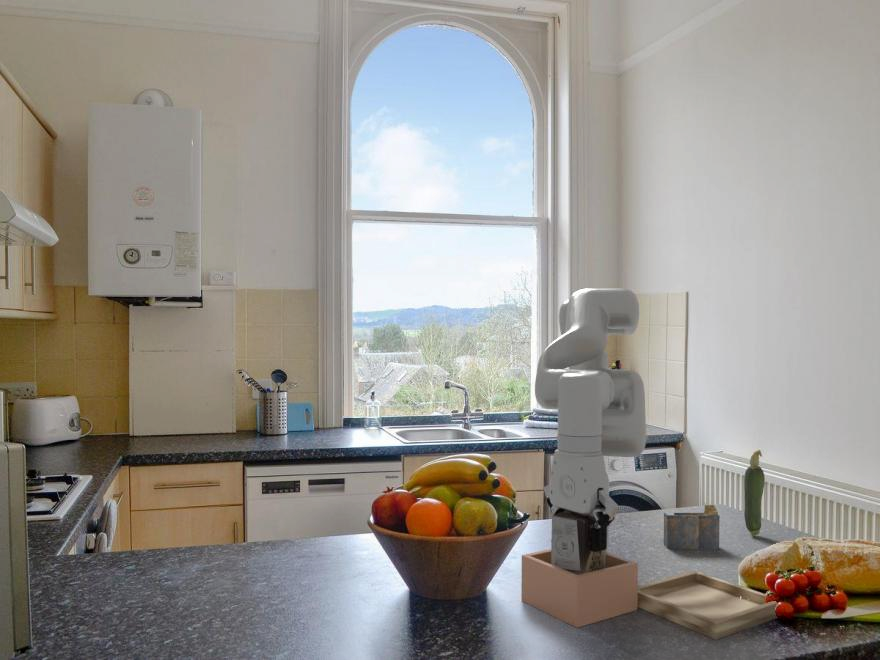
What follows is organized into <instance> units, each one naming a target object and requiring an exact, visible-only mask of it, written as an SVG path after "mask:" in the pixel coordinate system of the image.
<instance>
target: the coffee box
mask: <svg viewBox="0 0 880 660" xmlns="http://www.w3.org/2000/svg"><path fill="white" fill-rule="evenodd" d="M605 513H606V512H605ZM596 516H597V518H598V520H599V519H600V517H599V515H598V514H596ZM593 527H594V526H593V524H592V522H591V520H590V518H589V516H588V515H581V514H577V513H574V512H571V511H567V510H565V511H563V512H560V513H558V514H555V515H551V540H552V543H551V548H550V549H551V565H554V566H556V567H559V568H561V569H564V570H566V571H569V572H571V573H574V574H576V575H580V574H584V573H588V572H592V571H597V570H601V569H605V561H606V560H605V557H606V550H602V551H598V552H592V551H591V528H593Z"/></svg>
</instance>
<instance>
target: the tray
mask: <svg viewBox="0 0 880 660" xmlns="http://www.w3.org/2000/svg"><path fill="white" fill-rule="evenodd" d="M766 595H767V594H765V593H763V592H760V591H757V590H754V589H751V588H747V587H745V586H742V585H739V584H736V583H733V582H730V581H727V580H724V579H721V578H717V577H714V576H712V575H708V574H706V573H704V572H700V571H697V570H693V571H690V572H689V571H688V572H686V573H682V574H678V575H675V576H670V577H668V578H664V579H660V580H656V581H652V582H648V583H645V584H641V585H638V604H637V608H638V609H642V610H643V611H646V612H649V613H651V614H654V615H656V616H658V617H660V618H664V619H666V620H668V621H671V622H673V623H675V624H677V625H679V626H681V627H685V628H687V629H690V630H691V631H695V632H696V633H699V634H702V635H705V636H706V637H709V638H712V639H714V640H717V641H718V640H720V639H723V638H726V637H728V636H730V635H734V634H736V633H737V634H738V633H739V632H743V631H745V630H748V629H750V628H753V627H756V626H759V625H762V624H764V623H767V622H770V621H773V620H775V619H779V618H778V617H777V616H776V613H775V606H776V604H777V602H776V601H771V602H768V603H765V597H766ZM740 596H741V597H742V598H741V600H740ZM748 599H749V600H748Z"/></svg>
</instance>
